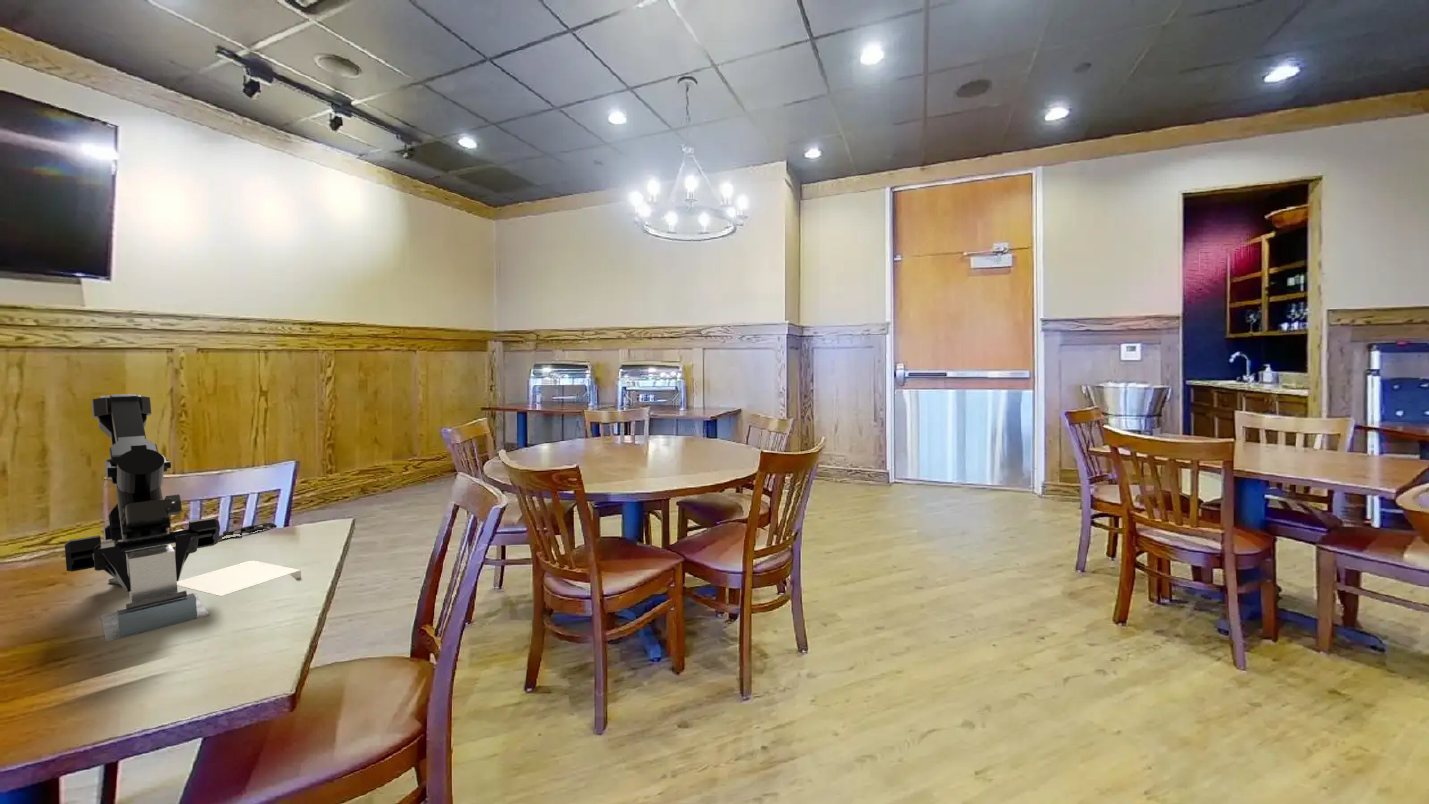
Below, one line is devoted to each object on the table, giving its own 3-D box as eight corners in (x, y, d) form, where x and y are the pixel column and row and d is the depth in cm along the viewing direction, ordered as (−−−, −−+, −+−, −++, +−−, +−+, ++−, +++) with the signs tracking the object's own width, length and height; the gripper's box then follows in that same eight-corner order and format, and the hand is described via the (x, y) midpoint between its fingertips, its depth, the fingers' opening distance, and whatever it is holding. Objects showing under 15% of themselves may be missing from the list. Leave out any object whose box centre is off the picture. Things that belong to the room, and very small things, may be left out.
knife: (159, 558, 130) (158, 552, 130) (145, 554, 133) (144, 548, 133) (281, 529, 153) (281, 524, 153) (267, 526, 155) (267, 521, 155)
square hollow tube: (130, 616, 96) (126, 552, 95) (174, 605, 100) (170, 544, 99) (133, 625, 93) (128, 559, 92) (179, 614, 97) (174, 551, 96)
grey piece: (101, 623, 96) (98, 588, 96) (196, 601, 106) (194, 569, 105) (106, 651, 87) (103, 612, 87) (210, 623, 96) (207, 588, 96)
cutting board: (171, 591, 110) (170, 583, 110) (252, 566, 123) (251, 560, 123) (221, 603, 104) (221, 595, 104) (301, 577, 117) (300, 570, 117)
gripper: (60, 491, 90) (67, 576, 84) (214, 473, 104) (231, 545, 98) (63, 530, 96) (70, 612, 90) (209, 508, 110) (224, 578, 104)
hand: (153, 585), depth 95 cm, fingers closed on square hollow tube, 5 cm apart
